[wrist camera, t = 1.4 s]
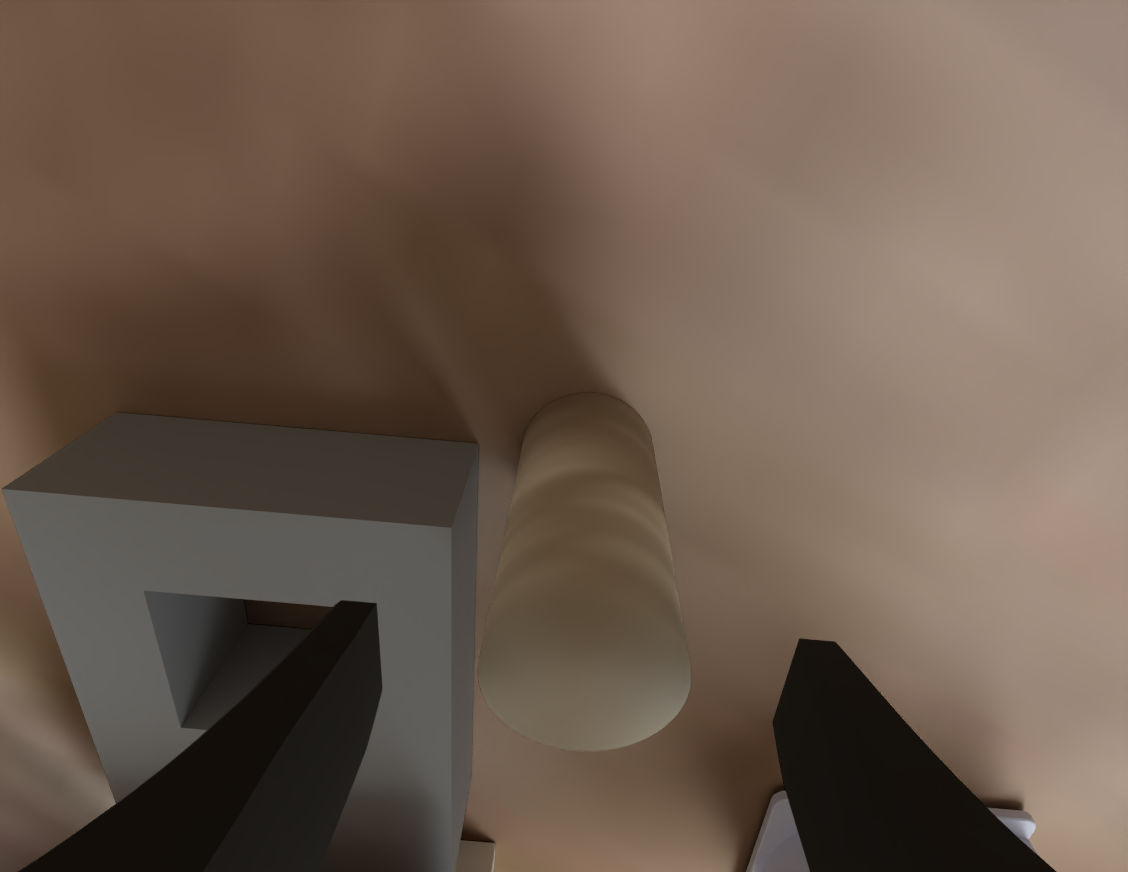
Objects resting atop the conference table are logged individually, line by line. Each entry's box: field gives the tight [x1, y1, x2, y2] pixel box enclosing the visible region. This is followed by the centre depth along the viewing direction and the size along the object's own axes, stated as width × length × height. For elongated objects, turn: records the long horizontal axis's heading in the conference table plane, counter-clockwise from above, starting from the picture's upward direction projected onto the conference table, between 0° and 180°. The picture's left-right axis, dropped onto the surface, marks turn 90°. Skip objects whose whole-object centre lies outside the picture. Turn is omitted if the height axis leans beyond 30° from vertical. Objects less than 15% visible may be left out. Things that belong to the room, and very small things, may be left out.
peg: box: [478, 393, 692, 751], centre depth 15 cm, size 4×4×8 cm
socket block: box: [2, 412, 479, 872], centre depth 20 cm, size 10×14×4 cm
